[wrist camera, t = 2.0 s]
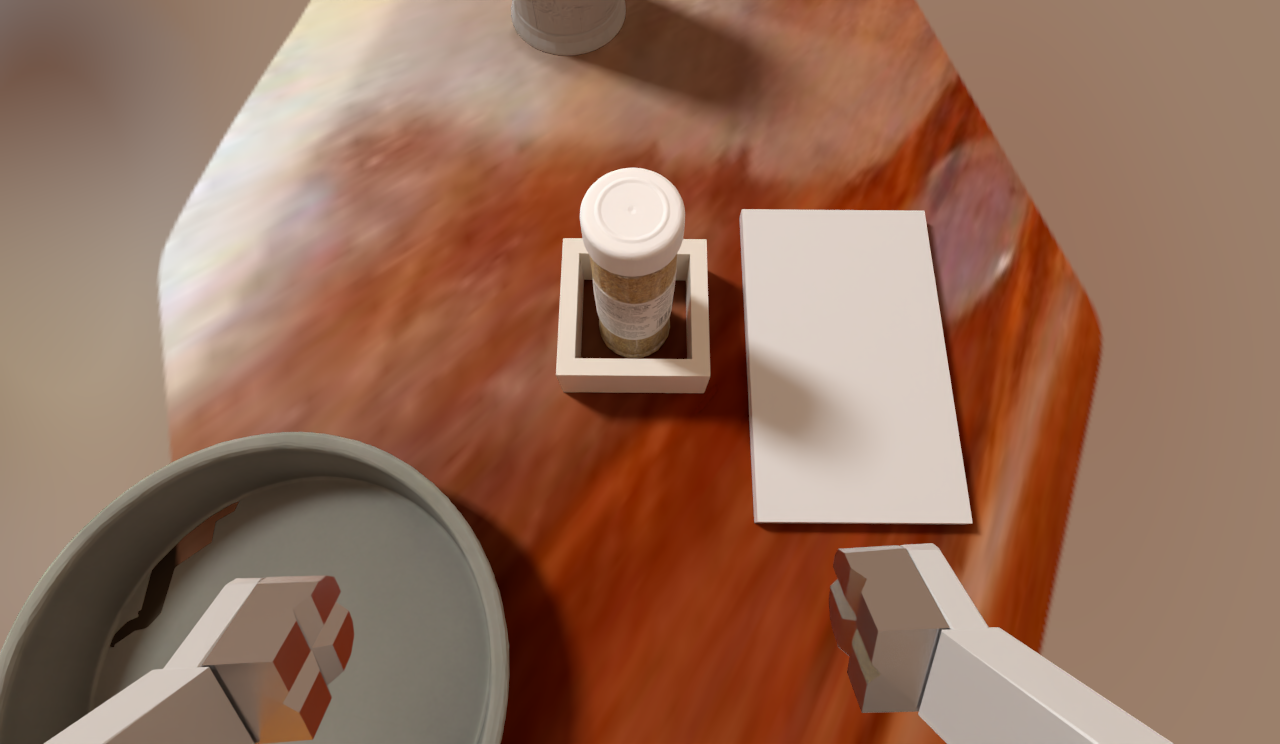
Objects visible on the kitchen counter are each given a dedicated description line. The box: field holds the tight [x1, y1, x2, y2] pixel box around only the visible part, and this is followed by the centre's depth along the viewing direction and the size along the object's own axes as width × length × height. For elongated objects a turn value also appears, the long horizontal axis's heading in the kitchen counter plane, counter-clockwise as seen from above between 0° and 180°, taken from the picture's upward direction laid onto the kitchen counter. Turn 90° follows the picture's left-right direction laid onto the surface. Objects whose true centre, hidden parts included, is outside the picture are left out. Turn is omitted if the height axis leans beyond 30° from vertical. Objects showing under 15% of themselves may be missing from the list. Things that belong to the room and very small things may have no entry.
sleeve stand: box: [556, 238, 710, 393], centre depth 37 cm, size 9×9×4 cm
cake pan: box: [0, 432, 510, 744], centre depth 31 cm, size 25×25×4 cm
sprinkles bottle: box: [580, 168, 685, 359], centre depth 32 cm, size 5×5×13 cm
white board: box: [740, 209, 973, 525], centre depth 38 cm, size 20×12×1 cm, turn 0°
